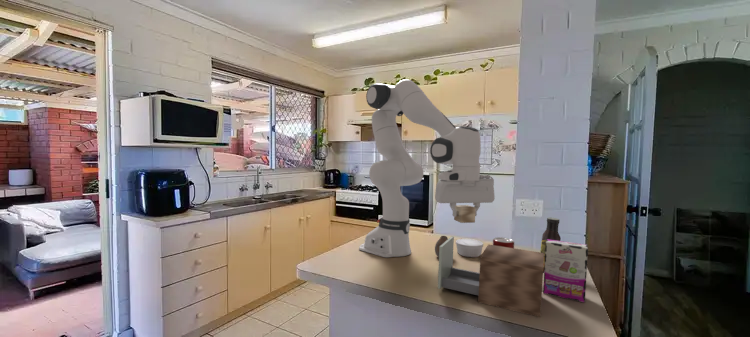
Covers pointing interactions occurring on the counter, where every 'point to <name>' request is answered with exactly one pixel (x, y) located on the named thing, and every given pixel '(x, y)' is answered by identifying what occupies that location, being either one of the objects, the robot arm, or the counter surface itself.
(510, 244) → the soda can
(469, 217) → the block
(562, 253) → the candy bar box
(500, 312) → the counter surface
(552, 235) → the sauce bottle
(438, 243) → the vase
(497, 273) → the tan box
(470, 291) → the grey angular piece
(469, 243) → the ramekin
